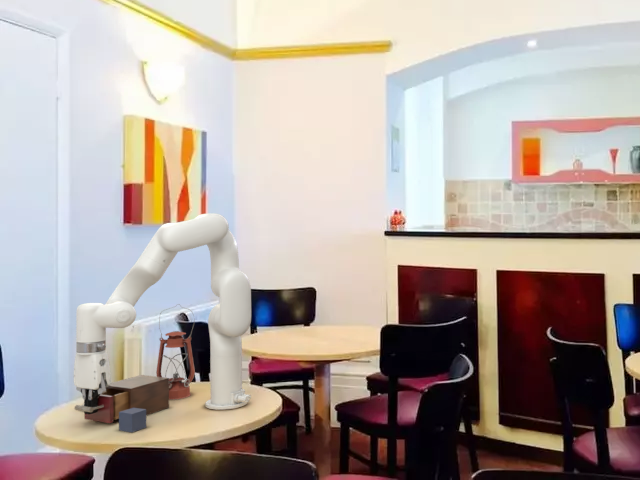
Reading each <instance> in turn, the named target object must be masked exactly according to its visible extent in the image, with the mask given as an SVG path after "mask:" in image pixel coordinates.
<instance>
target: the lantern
mask: <svg viewBox="0 0 640 480" xmlns="http://www.w3.org/2000/svg"><path fill="white" fill-rule="evenodd" d="M178 305H179V306H180V307H181V308H182V309H184V307H183V306H182V305H181V304H180V303H178V304H176V305H175V306H172V307H169V308H166V309H163V310H162V312H164V311H167V310H170V309H174V308H175V307H177V306H178ZM185 309H186V310H189V311H190V312H191V313H192V315H193V317H195V315H194V313H193V310H191V309H189V308H186V307H185ZM162 312H160V313H159V315H161V314H162ZM193 322H195V318H193ZM160 323H161V317H159V322H158V329H159V332H160V337H159V343H160V344H159V349H158V356H157V365H156V370H155V371H156V372H155V373H156V374H155V375H156V377H163V376H162V366H163V360H164V359H163V358H166V359H168V360H170V361H169V362H168V365H167V367H166V370H165V373H168V368H169V366H170V363H172V364H173V366H174V368H175V372H174V373H173V375H172V377H170V378H169V377H168V378H169V401H172V400H181V399H185V398H189V397H190V396H191V395H192V393H191V387H190V386H191V385H190V384H191V383H192V381H193V380H194V377H195V372H196V371H195V364H194V357H193V350H192V344H191V343H192V342H191V341H192V334H193V329H194V326H195V324H192V329H191V331H190V334H189V336H188V337H187V338H184V336H183V335H186V334H187V333H186V332H183V331H180V330H173V331H170V332H167V333H165V334H164V335H165V337H167V339H165V338H163V334H162V330H161V327H160V326H161V325H160ZM183 347H186V352H187V353H183V352H182V353H178V354H176V355H174V356H173V357H168V356H167V355H165V354H164V352H165V348H168V349H175V348H176V349H177V348H183ZM180 355H185V357H184V358H183V359H182V361H181V362H180V361H179V360H178V359H177V358H175V357H177V356H180ZM186 358H188V365H189V375H188V378H187V374H186V371H185V368H184V366H183V365H182V364H183V362H184V361H185V360H186ZM173 360H174V361H176V362H178V363H179V365H178V366H176V364H175V363H174V361H173ZM180 366H181V368H182V371H183V373H184V377H181V376H180V374H179V372H178V369H179V367H180ZM164 378H167V374H165V377H164Z"/></svg>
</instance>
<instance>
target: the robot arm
mask: <svg viewBox="0 0 640 480" xmlns="http://www.w3.org/2000/svg"><path fill="white" fill-rule="evenodd" d="M229 228H230V227H229V222H228V220H227V218H225V216H223V215H222V214H219V213H213V212H211V213H202V214H199V215H198V216H196V217H195V218H191V219H188V220H187V219H186V220H184V221H178V222H167V223H164V224H162V225H161V226H160V227H159V228H158V229H157V230H156V232H155V233H154V234H153V236H152V237H151V239H150V241H149V242H148V243H147V245H146V247H145V248H144V250H143V251H142V253H141V254H140V255H139V257H138V259H137V260H136V261H135V263H134V264H133V265H132V267H130V269H129V270H128V272H127V273H126V274H125V275H124V276H123V278H122V279H121V280H120V282H119V283H118V284H117V286H116V287H115V289H114V290H113V292H112V293H111V295H110V296H109V298H108V299H107V301H106V302H105V304H104V303H101V302H87V303H82V304H79V305H78V306H77V307H76V312H75V313H76V316H75V317H76V321H75V322H76V323H75V325H76V327H75V328H76V331H75V332H76V334H75V335H76V337H75V338H76V339H75V341H76V344H75V346H76V347H75V348H76V350H75V351H76V352H75V356H74V364H73V384H74V386H75V387H76V391H78V392H80V393H81V395H82V399H83V403H84V406H88V407H97V406H98V398H99V397H100V394H102V393H106V387H108V386H110V383H111V366H110V365H111V364H110V357H109V354H108V351H107V338H106V337H107V329H125V328H127V327H130V326H131V325H132V324H133V323H134V322H135V320H136V318H137V311H136V308H135V306H136V304H137V303H138V301H139V299H140V298H141V297H142V296H143V294H144V293H145V292H146V291H147V290H148V289H149V288H150V287H152V286H154V285H155V284H157V283H158V282H159V281H160V280H161V279H162V278H163V276H164V274H165V273H166V271H167V270H168V268H169V267H170V265H171V263H172V262H173V260H174V259H175V257H176V256H177V254H178V253H179V252H184V251H188V250H192V249H196V248H199V247H202V246H207V248H208V251H209V257H210V289H211V291H212V293H213V294H214V295H215V296H216V297H218V298H219V303H217V304H215V305H214V306H213V307H212V308H211V310H210V311H209V314H208V319H207V325H208V333H209V342H210V343H209V346H210V347H209V349H210V351H209V352H210V353H209V354H210V358H209V359H210V360H209V363H210V366H209V367H210V369H209V370H210V371H209V372H210V375H209V376H210V377H209V379H210V399H208V400H207V401H205V403H204V405H205V408H207V409H210V410H215V411H216V410H217V411H221V410H222V411H223V410H225V411H226V410H232V409H238V408H242V407H245V406H246V405H247V404H248V403H249V402H250V400H251V398H252V395H251V394H246V389H244V388H243V342H242V336H243V335H245V334H246V333H247V331H248V330H249V328H250V326H251V323H252V287H251V283H250V278H249V277H248V275H247V274H246V273H245V272H244V271H242V270H240V260H239V248H238V244H237V240H236V238H235V236H234V234H233V233H232V231H231V229H229ZM84 399H85V400H84ZM96 412H98V409H95V410H93V412H85V411H83V413H84V414H88V415H89V414H93V413H96Z"/></svg>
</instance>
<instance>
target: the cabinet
mask: <svg viewBox="0 0 640 480" xmlns="http://www.w3.org/2000/svg"><path fill="white" fill-rule="evenodd" d="M108 388H109V389H117V390H124V391H129V409H130V408H140V409H146V416H148V415H151V414H155V413H157V412H161V411H163V410H166V409H169V408H170V400H169V377H164V376H162V377H157V376H154V375H146V374H139V375H135V376H131V377H127V378H124V379H121V380H117V381H113V382H110V386H108V387H106V389H108Z"/></svg>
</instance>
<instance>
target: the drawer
mask: <svg viewBox="0 0 640 480" xmlns="http://www.w3.org/2000/svg"><path fill="white" fill-rule="evenodd" d="M84 400H85V399H83V401H84ZM95 409H98V412H96V413H93V414H89V415H88V414H84V416H83V417H84V420H87V421H93V422H100V423H106V424H112V423H114V420H119V412H121V411H124V410H127V409H129V391H124V390H117V389H109V388H108V389H106V393H102V394H100V397H99V398H98V406H97V407H88V406H84V405H83V404H82V405H81V404H76V405H75V406H74V410H75V411H79V412H84V411H85V412H93V410H95Z"/></svg>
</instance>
